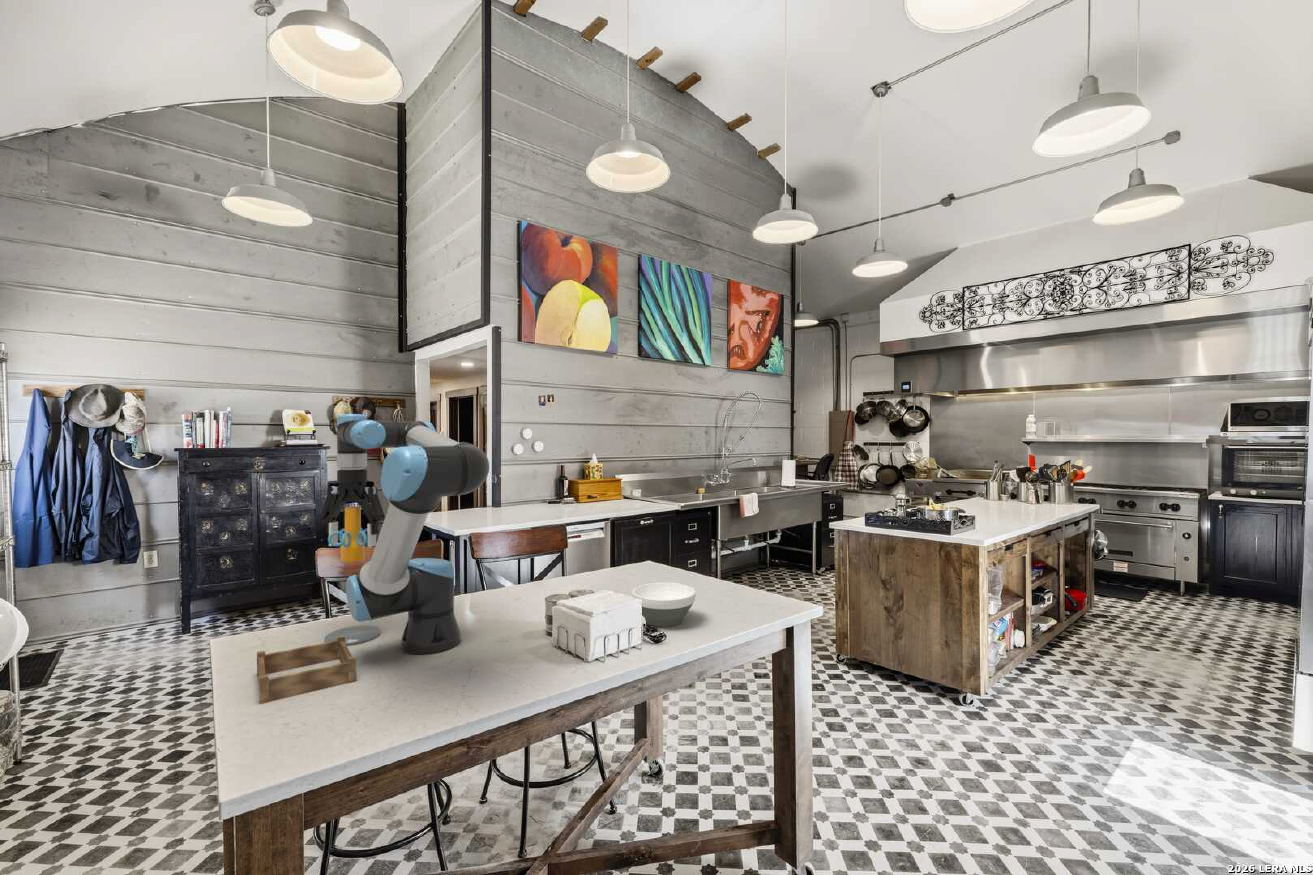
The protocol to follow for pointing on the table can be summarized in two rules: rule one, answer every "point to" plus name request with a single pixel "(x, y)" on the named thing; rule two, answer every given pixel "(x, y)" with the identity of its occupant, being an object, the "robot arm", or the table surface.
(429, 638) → the robot arm
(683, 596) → the bowl
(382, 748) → the table surface
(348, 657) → the crate
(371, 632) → the trivet
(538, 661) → the table surface
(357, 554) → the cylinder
